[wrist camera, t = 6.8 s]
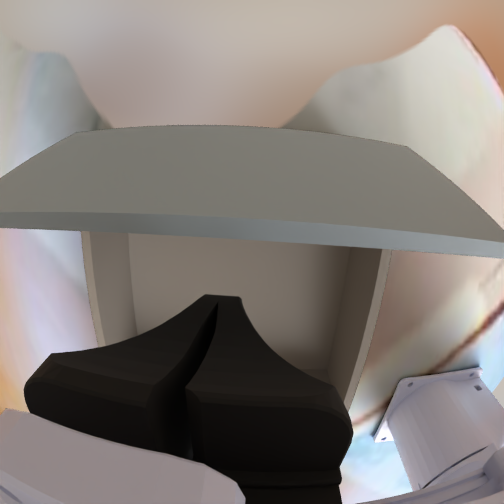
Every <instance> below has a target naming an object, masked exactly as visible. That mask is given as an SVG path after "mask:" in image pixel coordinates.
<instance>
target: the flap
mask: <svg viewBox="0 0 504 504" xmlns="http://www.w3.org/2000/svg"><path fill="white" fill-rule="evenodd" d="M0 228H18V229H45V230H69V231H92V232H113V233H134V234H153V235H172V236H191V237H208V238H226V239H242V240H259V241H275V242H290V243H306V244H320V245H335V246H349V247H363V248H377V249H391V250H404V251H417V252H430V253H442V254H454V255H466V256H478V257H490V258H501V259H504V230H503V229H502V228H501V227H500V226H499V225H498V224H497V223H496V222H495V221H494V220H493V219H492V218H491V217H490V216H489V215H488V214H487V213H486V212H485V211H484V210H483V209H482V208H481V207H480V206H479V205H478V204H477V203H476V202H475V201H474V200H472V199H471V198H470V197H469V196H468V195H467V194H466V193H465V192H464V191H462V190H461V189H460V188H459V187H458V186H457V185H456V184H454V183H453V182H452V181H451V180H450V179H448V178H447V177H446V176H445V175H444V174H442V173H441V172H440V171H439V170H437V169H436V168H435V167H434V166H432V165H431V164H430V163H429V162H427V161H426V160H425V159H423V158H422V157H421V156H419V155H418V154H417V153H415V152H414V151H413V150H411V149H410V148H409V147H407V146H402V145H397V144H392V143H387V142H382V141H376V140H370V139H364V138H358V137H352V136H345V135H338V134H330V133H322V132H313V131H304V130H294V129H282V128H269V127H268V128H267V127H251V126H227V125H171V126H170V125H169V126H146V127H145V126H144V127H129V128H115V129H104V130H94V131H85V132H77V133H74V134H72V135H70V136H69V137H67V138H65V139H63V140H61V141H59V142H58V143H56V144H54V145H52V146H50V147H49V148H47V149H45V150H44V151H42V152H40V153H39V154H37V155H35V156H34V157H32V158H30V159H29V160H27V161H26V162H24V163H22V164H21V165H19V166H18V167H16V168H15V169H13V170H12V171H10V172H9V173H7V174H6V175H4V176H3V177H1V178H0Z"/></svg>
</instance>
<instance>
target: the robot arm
mask: <svg viewBox="0 0 504 504" xmlns="http://www.w3.org/2000/svg"><path fill="white" fill-rule="evenodd" d="M482 372H483V370H482V368H481V367H477V368H472V369H466V370H461V371H455V372H448V373H442V374H435V375H427V376H419V377H410V378H404V379H402V380H401V381H400V382H399V383H398V386H397V388H396V391H395V393H394V395H393V398H392V400H391V402H390V404H389V407H388V409H387V411H386V413H385V415H384V417H383V419H382V422H381V424H380V426H379V428H378V430H377V432H376V434H375V436H374V438H373V439H374V442H384V441H391V440H394V442H395V444H396V447H397V450H398V452H399V455H400V457H401V460H402V463H403V465H404V468H405V471H406V473H407V476H408V479H409V481H410V484H411V487H412V490H413V492H410V493H406V494H402V495H398V496H394V497H389V498H385V499H380V500H375V501H369V502H364V503H357V504H504V408H503V407H502V406H501V404H500V403H499V402H498V400H497V399H496V398H495V397H494V395H493V394H492V393H491V391H490V390H489V389H488V388H487V386H486V385H485V384H484V383H483V381H482V380H481V379H480V376H481V374H482ZM409 383H410V384H409ZM24 397H25V402H26V404H27V407H28V409H29V411H30V413H28V412H23V411H19V410H14V409H8V408H6V409H5V410H4V411H3V413H2V414H1V415H0V504H342V500H341V495H340V489H339V484H340V483H341V481H342V477H341V472H340V465H341V463H342V461H343V459H344V457H345V455H346V453H347V451H348V449H349V446H350V444H351V441H352V437H353V428H352V424H351V420H350V417H349V414H348V411H347V409H346V407H345V405H344V403H343V401H342V399H341V397H340V395H339V393H338V391H337V389H336V387H335V386H333V385H331V384H328V383H326V382H324V381H321V380H319V379H317V378H314V377H312V376H310V375H308V374H306V373H305V372H303V371H301V370H299V369H298V368H296V367H294V366H293V365H291V364H290V363H288V362H287V361H286V360H284V359H283V358H282V357H281V356H279V355H278V354H277V353H276V352H274V351H273V350H272V349H271V348H270V347H269V346H268V344H267V343H266V342H265V341H264V340H263V339H262V337H261V336H260V335H259V333H258V332H257V331H256V329H255V328H254V326H253V325H252V323H251V321H250V319H249V318H248V316H247V314H246V312H245V309H244V307H243V304H242V299H241V298H240V297H239V296H225V295H211V294H204V295H203V296H202V297H200V298H199V299H198V300H196V301H195V302H194V303H192V304H191V305H190V306H188V307H187V308H186V309H184V310H183V311H181V312H180V313H179V314H177V315H175V316H174V317H172V318H171V319H169V320H167V321H166V322H164V323H163V324H161V325H159V326H157V327H155V328H153V329H151V330H149V331H147V332H145V333H143V334H140V335H138V336H135V337H132V338H129V339H127V340H124V341H121V342H118V343H115V344H111V345H107V346H103V347H98V348H94V349H88V350H82V351H73V352H63V353H51V354H50V356H49V357H48V358H47V359H46V360H45V361H44V362H43V363H42V364H41V366H40V367H39V368H38V369H37V370H36V371H35V372H34V374H33V375H32V376H31V377H30V378H29V379H28V381H27V382H26V384H25V387H24Z"/></svg>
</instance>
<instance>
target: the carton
mask: <svg viewBox="0 0 504 504" xmlns="http://www.w3.org/2000/svg"><path fill="white" fill-rule="evenodd" d="M81 238H82V248H83V258H84V267H85V274H86V282H87V289H88V295H89V301H90V307H91V313H92V318H93V323H94V328H95V333H96V338H97V342H98V347H103V346H107V345H111V344H115V343H118V342H121V341H124V340H127V339H129V338H132V337H135V336H138V335H140V334H143V333H145V332H147V331H149V330H151V329H153V328H155V327H157V326H159V325H161V324H163V323H164V322H166V321H167V320H169V319H171V318H172V317H174V316H175V315H177V314H179V313H180V312H181V311H183V310H184V309H186V308H187V307H188V306H190V305H191V304H192V303H194V302H195V301H196V300H198V299H199V298H200V297H202V296H203V295H204V294H211V295H225V296H239V297H240V298H241V299H242V304H243V307H244V309H245V312H246V314H247V316H248V318H249V319H250V321H251V323H252V325H253V326H254V328H255V329H256V331H257V332H258V333H259V335H260V336H261V337H262V339H263V340H264V341H265V342H266V343H267V344H268V346H269V347H270V348H271V349H272V350H273V351H274V352H276V353H277V354H278V355H279V356H281V357H282V358H283V359H284V360H286V361H287V362H288V363H290V364H291V365H293V366H294V367H296V368H298V369H299V370H301V371H303V372H305V373H306V374H308V375H310V376H312V377H314V378H317V379H319V380H321V381H324V382H326V383H328V384H331V385H333V386H335V387H336V389H337V391H338V393H339V395H340V397H341V399H342V401H343V403H344V405H345V407H346V409H347V411H349V409H350V406H351V403H352V400H353V398H354V395H355V392H356V389H357V386H358V383H359V380H360V377H361V374H362V371H363V368H364V364H365V361H366V358H367V354H368V351H369V348H370V344H371V341H372V337H373V333H374V330H375V326H376V322H377V318H378V314H379V310H380V306H381V302H382V298H383V293H384V289H385V284H386V279H387V275H388V270H389V265H390V259H391V254H392V250H391V249H377V248H363V247H349V246H335V245H320V244H306V243H290V242H275V241H259V240H242V239H226V238H208V237H191V236H172V235H153V234H134V233H113V232H92V231H81Z"/></svg>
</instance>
